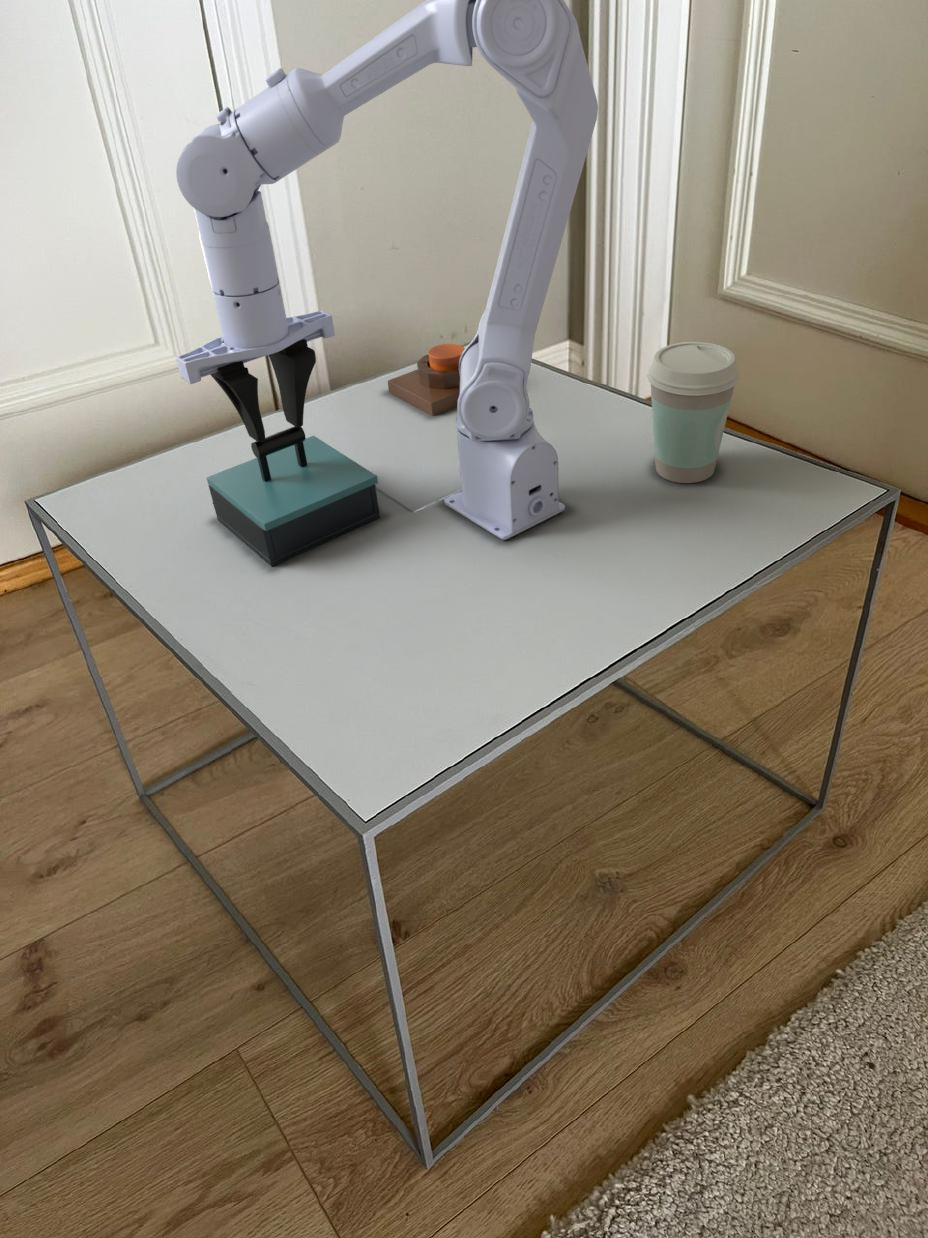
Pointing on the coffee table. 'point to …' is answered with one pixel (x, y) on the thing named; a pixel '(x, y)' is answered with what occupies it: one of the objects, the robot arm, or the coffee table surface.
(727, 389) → the coffee cup
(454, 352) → the button
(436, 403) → the block
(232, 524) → the open-top box
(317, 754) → the coffee table surface
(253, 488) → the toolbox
